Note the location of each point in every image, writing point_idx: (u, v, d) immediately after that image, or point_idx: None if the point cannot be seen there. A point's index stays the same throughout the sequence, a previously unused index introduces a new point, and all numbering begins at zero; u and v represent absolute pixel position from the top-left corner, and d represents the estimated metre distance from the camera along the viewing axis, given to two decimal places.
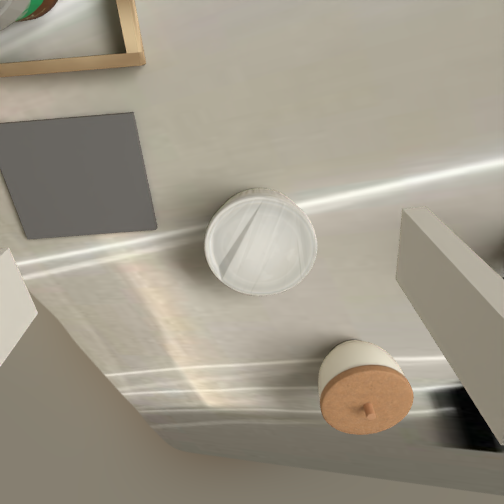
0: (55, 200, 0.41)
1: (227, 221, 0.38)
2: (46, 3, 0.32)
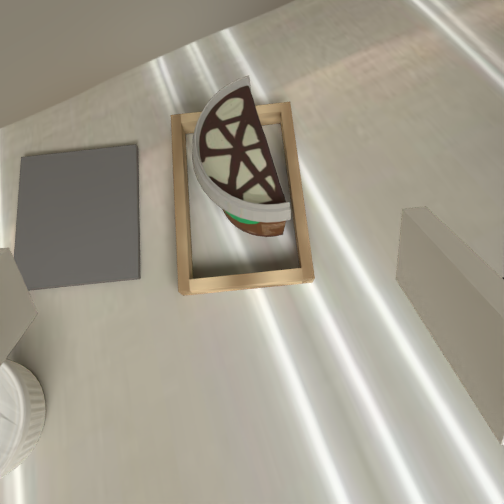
0: (59, 191, 0.40)
1: None
2: (228, 216, 0.37)
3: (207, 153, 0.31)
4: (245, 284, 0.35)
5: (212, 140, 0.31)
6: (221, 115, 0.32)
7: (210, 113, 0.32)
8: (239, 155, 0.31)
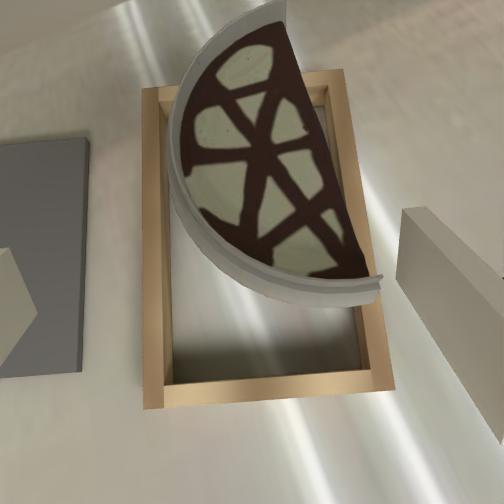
0: None
1: None
2: None
3: (197, 157, 0.15)
4: (266, 398, 0.19)
5: (207, 131, 0.15)
6: (227, 79, 0.15)
7: (204, 74, 0.16)
8: (264, 164, 0.14)
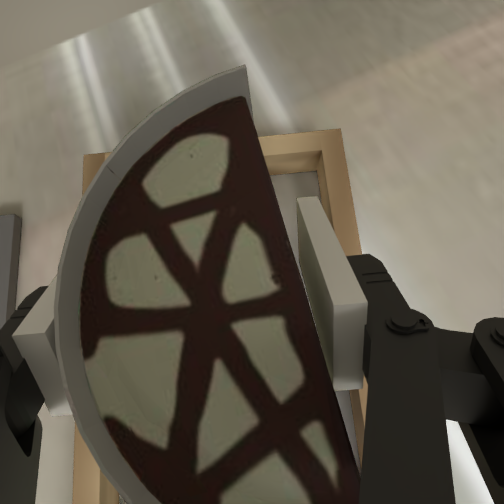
0: None
1: None
2: None
3: (106, 323, 0.09)
4: None
5: (125, 277, 0.10)
6: (159, 190, 0.10)
7: (124, 183, 0.10)
8: (210, 337, 0.09)
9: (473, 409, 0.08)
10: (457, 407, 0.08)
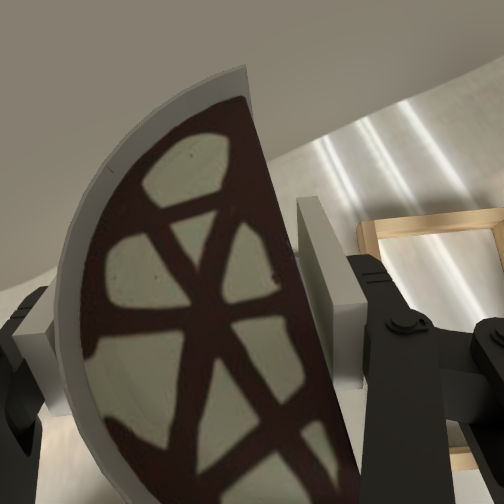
0: None
1: None
2: None
3: (106, 323, 0.09)
4: None
5: (125, 277, 0.10)
6: (159, 190, 0.10)
7: (124, 183, 0.10)
8: (210, 337, 0.09)
9: (472, 409, 0.08)
10: (456, 407, 0.08)
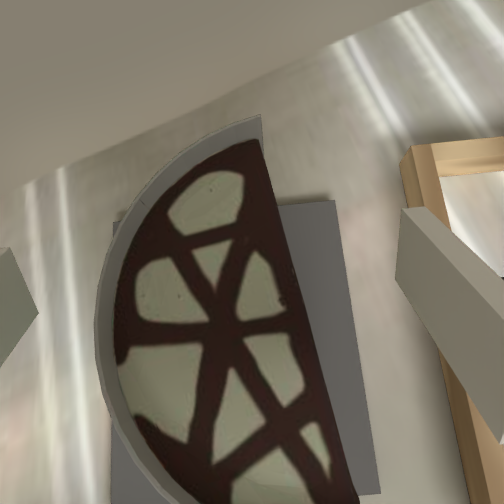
0: None
1: None
2: None
3: (136, 334, 0.11)
4: None
5: (152, 295, 0.11)
6: (182, 220, 0.12)
7: (152, 212, 0.12)
8: (225, 349, 0.11)
9: None
10: None
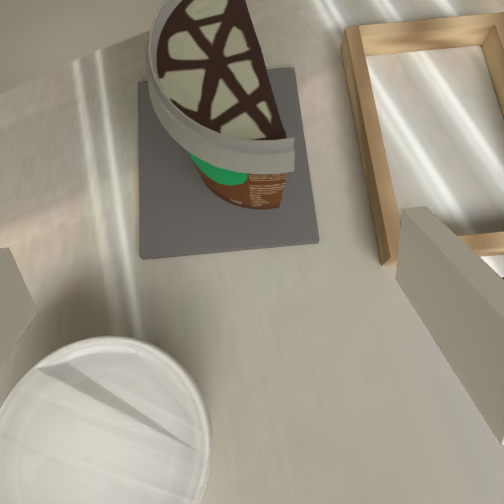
0: None
1: (159, 381, 0.21)
2: (204, 177, 0.26)
3: (169, 66, 0.20)
4: (484, 248, 0.25)
5: (177, 48, 0.20)
6: (193, 13, 0.21)
7: (176, 9, 0.21)
8: (217, 70, 0.20)
9: None
10: None
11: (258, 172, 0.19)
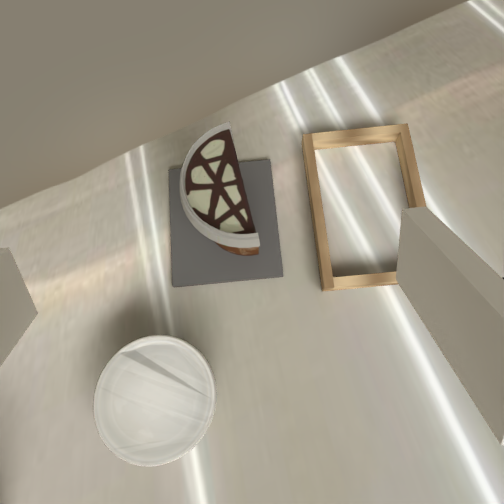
0: None
1: (187, 360, 0.37)
2: None
3: (192, 187, 0.36)
4: (382, 282, 0.41)
5: (196, 176, 0.37)
6: (205, 154, 0.37)
7: (195, 152, 0.37)
8: (218, 190, 0.36)
9: None
10: None
11: (240, 247, 0.36)
